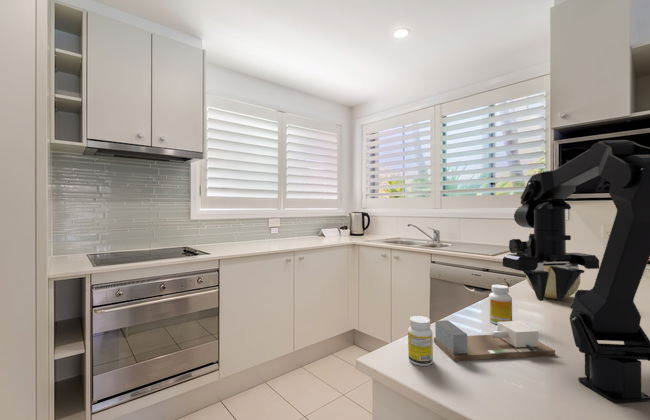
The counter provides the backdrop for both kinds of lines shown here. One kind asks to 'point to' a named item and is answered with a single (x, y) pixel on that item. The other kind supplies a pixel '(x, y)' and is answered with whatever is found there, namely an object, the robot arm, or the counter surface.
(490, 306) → the supplement bottle
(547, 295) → the cantaloupe
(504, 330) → the gauge carriage
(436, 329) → the gray concrete brick
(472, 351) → the base
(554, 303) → the counter surface
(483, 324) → the counter surface
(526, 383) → the counter surface
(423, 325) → the supplement bottle
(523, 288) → the counter surface
